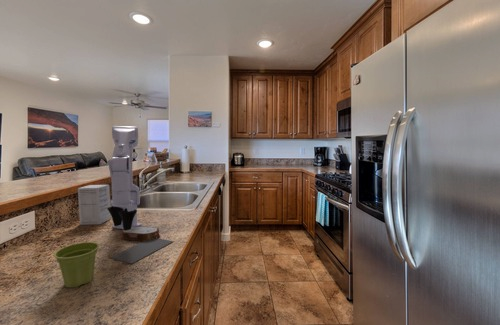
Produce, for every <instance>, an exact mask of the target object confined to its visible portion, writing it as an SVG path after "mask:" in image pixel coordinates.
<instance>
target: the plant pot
mask: <svg viewBox="0 0 500 325" xmlns="http://www.w3.org/2000/svg"><path fill="white" fill-rule="evenodd" d="M99 248H100V244H99V243H98V242H95V241H94V242H93V241H86V242H85V241H84V242H77V243H73V244H70V245H67V246H64V247H61V248H60V249H58V250H56V251H55V253H54V254H53V257H54V258H55V259H56V261H57V263H58V264H59V268H60V271H61V275H62V279H63V284H64V286H65V287H67V288H78V287H79V286H82V285H86V284H88V283H90V282H91V281H92V280H93V279H94V275H95V274H94V272H95V264H96V255H97V252H98V249H99Z"/></svg>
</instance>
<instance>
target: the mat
mask: <svg viewBox="0 0 500 325" xmlns="http://www.w3.org/2000/svg"><path fill="white" fill-rule="evenodd" d="M172 243H174V241H173V240H167V239H164V238H163V239H162V238H159V237H157V238H155V239H152V240H146V241H141V242H139V243H137V244H135V245H132V246H131V247H130V246H129V247H127V248H126V249H124V250H121V251H120V252H118V253H115V254H113V255H111V256H108V259H111V260H115V261H118V262H123V263H126V264H130V265H133V264H135V263H137V262H139V261H141V260H142V259H145V258H146V257H148V256H150V255H152V254H154V253H156V252H158V251H160V250H161V249H163V248H165V247H167V246H168V245H170V244H172Z"/></svg>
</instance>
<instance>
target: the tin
mask: <svg viewBox="0 0 500 325" xmlns="http://www.w3.org/2000/svg"><path fill="white" fill-rule="evenodd" d="M120 232H121V237H120V238H121V239H123V240H129V241H141V242H143V241H146V240H152V239H155V238H159V237H160V229H159V227H156V226H145V225H144V226H143V225H140V226H133V227H131V229H130V230H126V231H125V230H124V229H121V231H120Z"/></svg>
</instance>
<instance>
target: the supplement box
mask: <svg viewBox="0 0 500 325" xmlns="http://www.w3.org/2000/svg"><path fill="white" fill-rule="evenodd" d="M110 192H111V191H110V185H109V184H89V185H85V186H82V187H78V188H77V197H78V198H77V199H78V212H79V213H78V216H79V226H80V225H81V226H83V225H86V226H87V225H88V226H89V225H101V224H103V223H105V222H107V221H109V220H111V219H112V216H111V214H110V212H109V211H108V209H107V208H108V207H111V205H110V200H111V197H110V196H111V195H110Z"/></svg>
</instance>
